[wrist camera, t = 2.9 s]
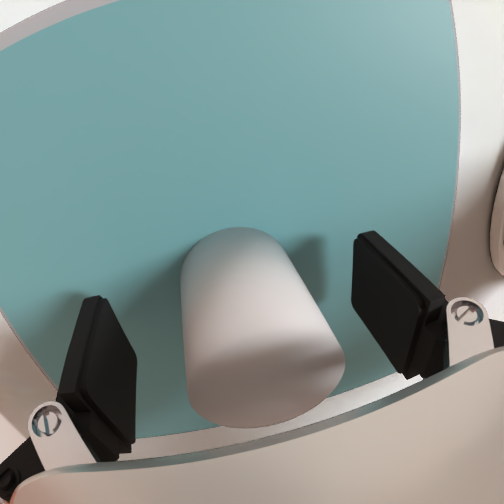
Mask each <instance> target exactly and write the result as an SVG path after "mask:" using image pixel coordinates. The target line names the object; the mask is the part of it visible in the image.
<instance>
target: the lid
mask: <svg viewBox="0 0 504 504" xmlns="http://www.w3.org/2000/svg"><path fill="white" fill-rule="evenodd" d="M458 137H459V89H458V69H457V56H456V45H455V36H454V28H453V21H452V14H451V8H450V2H449V1H447V0H119V1H116V2H113V3H109V4H106V5H103V6H100V7H97V8H94V9H91V10H89V11H86V12H83V13H80V14H78V15H75V16H73V17H70V18H68V19H65V20H63V21H60V22H58V23H56V24H53V25H51V26H49V27H46V28H44V29H42V30H40V31H38V32H36V33H34V34H32V35H30V36H28V37H26V38H24V39H22V40H20V41H18V42H16V43H14V44H12V45H10V46H9V47H7V48H5V49H3V50H1V51H0V307H1V308H2V310H3V312H4V313H5V315H6V316H7V318H8V320H9V321H10V323H11V324H12V326H13V327H14V329H15V330H16V332H17V333H18V335H19V336H20V338H21V339H22V341H23V342H24V344H25V345H26V347H27V348H28V349H29V351H30V352H31V353H32V355H33V356H34V358H35V359H36V360H37V362H38V363H39V364H40V366H41V367H42V368H43V369H44V371H45V372H46V373H47V375H48V376H49V377H50V378H51V380H52V381H53V382H54V383H55V384H56V386H57V387H58V388H59V383H60V379H61V375H62V371H63V367H64V363H65V359H66V355H67V351H68V348H69V344H70V342H71V338H72V335H73V331H74V328H75V325H76V321H77V318H78V315H79V312H80V308H81V305H82V302H83V300H84V299H85V298H88V297H92V296H97V295H100V296H101V297H102V298H107V300H108V301H109V303H110V305H111V307H112V309H113V311H114V313H115V315H116V317H117V319H118V321H119V323H120V325H121V327H122V329H123V331H124V333H125V335H126V337H127V338H128V340H129V342H130V344H131V346H132V348H133V349H134V351H135V353H136V356H137V382H136V439H138V438H147V437H156V436H164V435H171V434H178V433H184V432H191V431H197V430H202V429H208V428H213V427H218V426H225V427H232V428H259V427H265V426H270V425H275V424H278V423H282V422H285V421H288V420H290V419H293V418H295V417H297V416H300V415H302V414H304V413H305V412H307V411H309V410H311V409H312V408H314V407H315V406H317V405H318V404H319V403H321V402H322V401H323V400H324V399H325V398H328V397H331V396H334V395H337V394H340V393H343V392H346V391H349V390H351V389H354V388H357V387H360V386H362V385H365V384H367V383H370V382H373V381H375V380H378V379H380V378H383V377H385V376H388V375H390V374H392V373H395V372H397V371H396V370H395V368H394V367H393V365H392V364H391V362H390V361H389V359H388V358H387V356H386V355H385V353H384V352H383V350H382V349H381V347H380V346H379V345H378V343H377V342H376V340H375V339H374V337H373V336H372V334H371V333H370V331H369V330H368V329H367V327H366V326H365V324H364V323H363V321H362V320H361V319H360V317H359V316H358V314H357V313H356V311H355V310H354V308H353V306H352V303H351V289H352V268H353V241H354V239H357V236H358V234H360V233H364V232H368V231H372V230H374V231H376V232H377V233H378V234H379V235H380V236H382V237H383V238H384V239H385V240H386V241H387V242H388V243H390V244H391V245H392V246H393V247H394V248H395V249H396V250H397V251H398V252H400V253H401V254H402V255H403V256H404V257H405V258H406V259H407V260H408V261H409V262H411V263H412V264H413V265H414V266H415V267H416V268H417V269H418V270H419V271H420V272H421V273H422V274H423V275H424V276H425V277H426V278H428V279H429V280H430V281H431V282H432V283H433V284H434V285H435V286H436V287H437V288H438V285H439V281H440V276H441V272H442V267H443V262H444V257H445V252H446V247H447V241H448V235H449V229H450V223H451V216H452V209H453V201H454V192H455V182H456V171H457V157H458Z"/></svg>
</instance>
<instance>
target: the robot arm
mask: <svg viewBox="0 0 504 504" xmlns="http://www.w3.org/2000/svg"><path fill="white" fill-rule="evenodd" d="M490 251H491V257H492V261H493V264H494V266H495V269H496V270H497V271H498V272H499V273H500V274H501V275H503V276H504V169H503V172H502V175H501V178H500V182H499V186H498V190H497V193H496V197H495V202H494V208H493V213H492V220H491V229H490ZM351 303H352V306H353V308H354V310H355V311H356V313H357V314H358V316H359V317H360V319H361V320H362V321H363V323H364V324H365V326H366V327H367V329H368V330H369V331H370V333H371V334H372V336H373V337H374V339H375V340H376V342H377V343H378V345H379V346H380V347H381V349H382V350H383V352H384V353H385V355H386V356H387V358H388V359H389V361H390V362H391V364H392V365H393V367H394V368H395V370H396V371H397V372H398V373H400V374H401V373H403V375H404V376H405V378H406V379H407V380H408V379H410V378H412V377H414V376H417V375H419V374H420V376H421V377H422V378H423V380H422V381H420V382H418V383H415V384H413V385H411V386H409V387H407V388H405V389H402V390H400V391H398V392H396V393H393V394H391V395H389V396H386V397H384V398H382V399H379V400H377V401H374V402H372V403H369V404H367V405H364V406H362V407H359V408H357V409H354V410H351V411H349V412H346V413H343V414H340V415H337V416H335V417H332V418H329V419H326V420H323V421H320V422H317V423H314V424H311V425H307V426H304V427H301V428H297V429H294V430H291V431H287V432H284V433H280V434H276V435H273V436H269V437H265V438H261V439H257V440H253V441H249V442H244V443H240V444H235V445H230V446H226V447H221V448H216V449H210V450H205V451H199V452H193V453H187V454H180V455H173V456H165V457H157V458H147V459H138V460H128V461H118V460H117V459H118V458H119V454H122V453H131V444H134V443H135V439H136V382H137V356H136V353H135V351H134V349H133V348H132V346H131V344H130V342H129V340H128V338H127V337H126V335H125V333H124V331H123V329H122V327H121V325H120V323H119V321H118V319H117V317H116V315H115V313H114V311H113V309H112V307H111V305H110V303H109V301H108V300H107V298H102V297H101V296H100V295H97V296H92V297H88V298H85V299H84V300H83V302H82V305H81V308H80V312H79V315H78V318H77V321H76V325H75V328H74V331H73V335H72V338H71V342H70V344H69V348H68V351H67V355H66V359H65V363H64V367H63V371H62V375H61V379H60V383H59V388H58V392H57V397H56V402H55V401H48V402H44V403H42V404H40V405H39V406H38V407H36V408H35V409H34V411H33V412H32V413H31V415H30V418H29V420H28V431H29V434H30V437H29V438H28V439H27V440H26V441H25V442H24V443H22V444H21V445H20V446H19V447H18V448H17V449H16V450H15V451H14V452H13V453H12V454H11V455H10V456H9V457H8V458H7V459H5V460H4V461H3V462H2V463H1V464H0V504H504V322H502V321H497V320H492V319H489V318H488V314H487V311H486V309H485V308H484V306H483V305H482V304H480V303H479V302H478V301H476V300H474V299H471V298H467V297H458V298H455V299H453V300H451V301H450V302H449V303H448V302H447V301H446V300H445V295H444V294H443V293H442V292H441V291H440V290H439V289H438V288H437V287H436V286H435V285H434V284H433V283H432V282H431V281H430V280H429V279H428V278H426V277H425V276H424V275H423V274H422V273H421V272H420V271H419V270H418V269H417V268H416V267H415V266H414V265H413V264H412V263H411V262H409V261H408V260H407V259H406V258H405V257H404V256H403V255H402V254H401V253H400V252H398V251H397V250H396V249H395V248H394V247H393V246H392V245H391V244H390V243H388V242H387V241H386V240H385V239H384V238H383V237H382V236H380V235H379V234H378V233H377V232H376V231H374V230H372V231H368V232H364V233H360V234H358V236H357V239H354V241H353V268H352V289H351Z"/></svg>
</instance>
